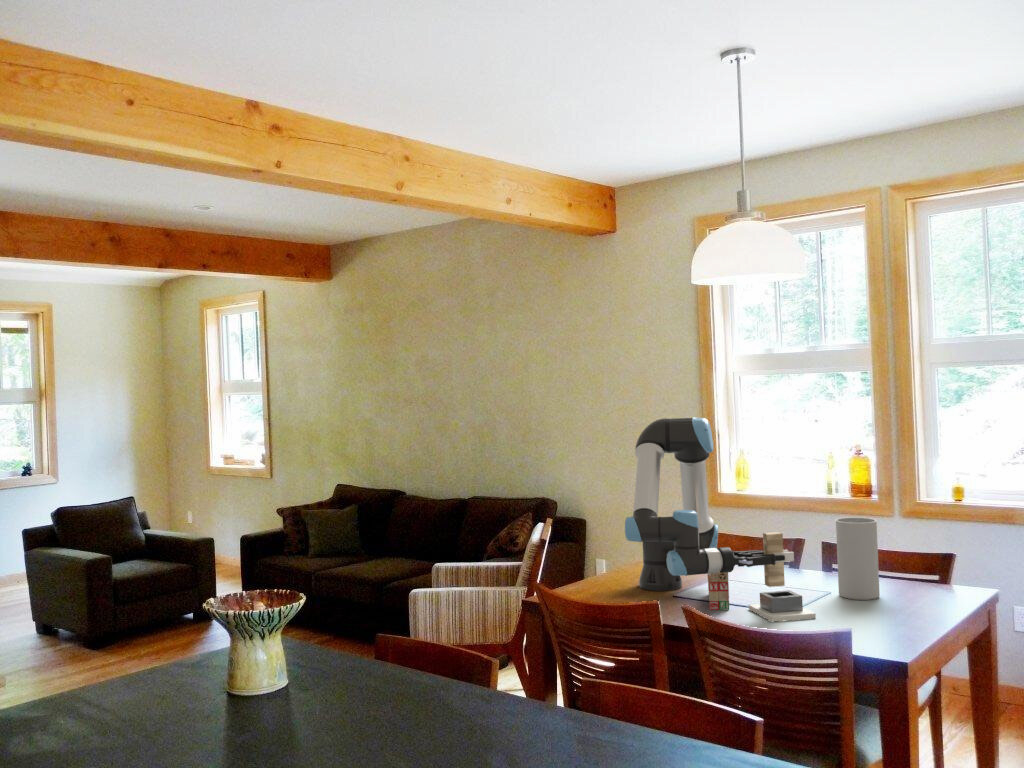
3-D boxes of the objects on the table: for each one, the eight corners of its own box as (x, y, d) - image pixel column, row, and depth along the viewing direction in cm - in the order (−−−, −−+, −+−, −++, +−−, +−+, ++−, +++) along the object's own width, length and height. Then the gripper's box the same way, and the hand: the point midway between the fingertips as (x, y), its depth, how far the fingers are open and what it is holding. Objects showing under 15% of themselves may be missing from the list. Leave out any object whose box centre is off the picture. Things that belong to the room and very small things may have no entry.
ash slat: (764, 584, 272) (762, 532, 272) (780, 583, 273) (778, 531, 273) (769, 586, 269) (767, 534, 269) (784, 585, 270) (782, 533, 270)
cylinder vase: (838, 599, 287) (835, 522, 287) (838, 591, 298) (835, 517, 299) (880, 601, 282) (877, 523, 283) (878, 592, 294) (875, 517, 294)
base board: (748, 609, 278) (748, 604, 278) (790, 606, 281) (789, 601, 281) (772, 622, 263) (772, 617, 263) (815, 618, 265) (815, 613, 265)
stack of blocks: (708, 594, 301) (706, 558, 301) (727, 594, 300) (725, 558, 300) (709, 610, 280) (707, 571, 280) (729, 610, 279) (728, 571, 279)
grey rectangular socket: (760, 607, 275) (759, 592, 275) (790, 604, 277) (789, 590, 277) (772, 613, 267) (771, 598, 267) (802, 610, 269) (802, 595, 269)
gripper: (708, 567, 276) (779, 562, 280) (729, 578, 260) (803, 572, 264) (707, 543, 276) (778, 538, 280) (728, 552, 260) (802, 547, 264)
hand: (790, 555), depth 272 cm, fingers closed on ash slat, 3 cm apart
